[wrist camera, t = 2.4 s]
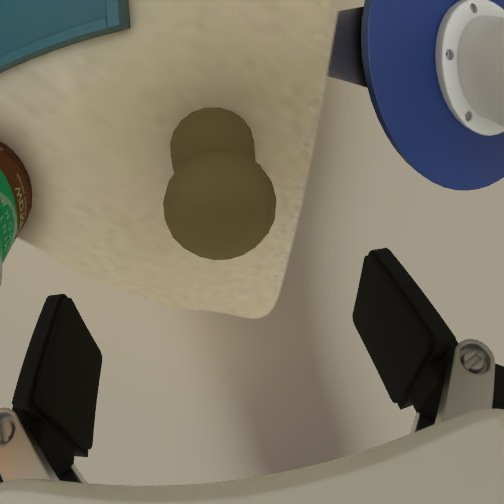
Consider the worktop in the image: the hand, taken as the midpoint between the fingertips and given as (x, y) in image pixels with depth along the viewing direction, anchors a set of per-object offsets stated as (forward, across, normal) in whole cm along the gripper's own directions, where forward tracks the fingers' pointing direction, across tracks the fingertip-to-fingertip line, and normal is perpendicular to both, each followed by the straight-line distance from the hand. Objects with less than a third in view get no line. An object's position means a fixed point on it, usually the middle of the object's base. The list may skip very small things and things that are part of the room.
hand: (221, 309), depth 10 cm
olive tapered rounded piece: (+16, -1, 0) cm, 16 cm away
